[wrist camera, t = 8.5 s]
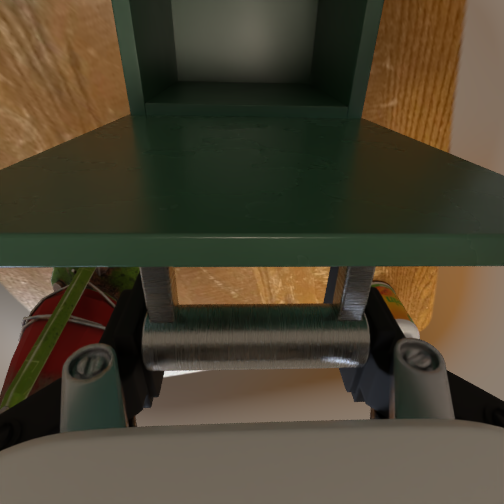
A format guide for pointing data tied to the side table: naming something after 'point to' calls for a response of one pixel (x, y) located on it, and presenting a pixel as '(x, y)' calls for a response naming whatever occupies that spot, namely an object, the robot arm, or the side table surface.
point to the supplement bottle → (397, 310)
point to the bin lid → (250, 224)
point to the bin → (247, 56)
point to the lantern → (63, 326)
